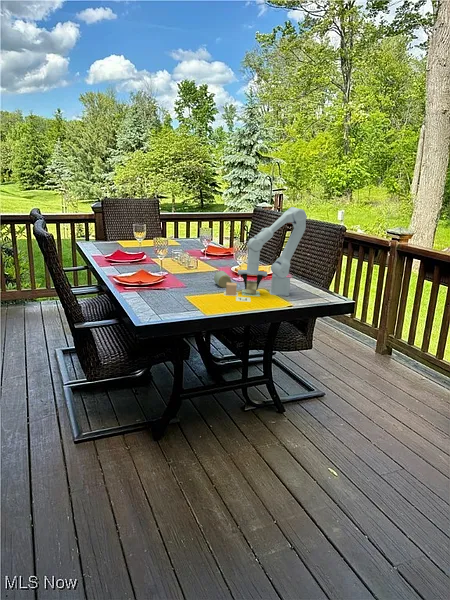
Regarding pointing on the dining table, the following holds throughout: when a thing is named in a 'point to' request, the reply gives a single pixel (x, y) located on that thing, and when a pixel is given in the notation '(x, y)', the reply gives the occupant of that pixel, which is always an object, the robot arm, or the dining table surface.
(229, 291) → the terracotta block
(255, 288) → the birch block
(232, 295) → the code tile
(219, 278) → the ceramic mug
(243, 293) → the coaster
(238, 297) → the code tile
